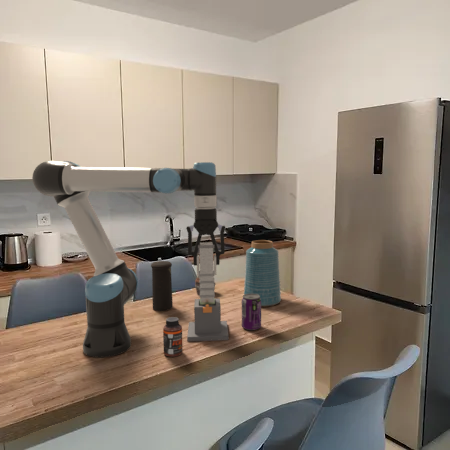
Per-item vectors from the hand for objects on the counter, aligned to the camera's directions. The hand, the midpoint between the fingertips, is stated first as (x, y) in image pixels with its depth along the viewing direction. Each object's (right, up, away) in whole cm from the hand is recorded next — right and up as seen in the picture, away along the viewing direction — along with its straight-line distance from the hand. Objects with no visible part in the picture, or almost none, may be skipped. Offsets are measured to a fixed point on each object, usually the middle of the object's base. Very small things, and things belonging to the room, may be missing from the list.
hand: (206, 274), depth 142 cm
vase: (+23, -17, +37) cm, 46 cm away
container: (-20, -18, +30) cm, 40 cm away
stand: (0, -21, +3) cm, 21 cm away
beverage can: (+16, -21, +7) cm, 27 cm away
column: (0, -12, +2) cm, 12 cm away
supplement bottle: (-10, -24, -14) cm, 29 cm away
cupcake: (-3, -16, +49) cm, 52 cm away
